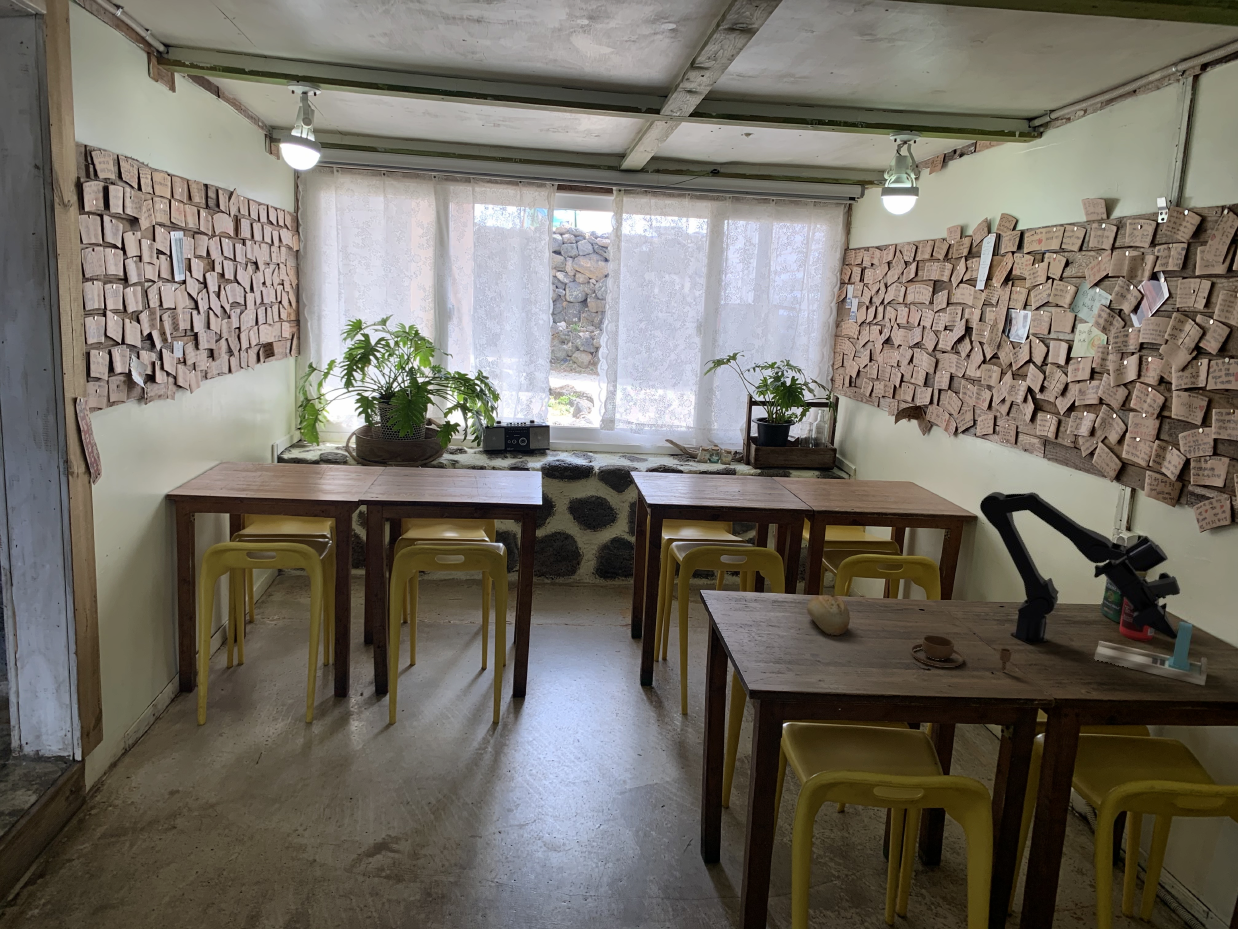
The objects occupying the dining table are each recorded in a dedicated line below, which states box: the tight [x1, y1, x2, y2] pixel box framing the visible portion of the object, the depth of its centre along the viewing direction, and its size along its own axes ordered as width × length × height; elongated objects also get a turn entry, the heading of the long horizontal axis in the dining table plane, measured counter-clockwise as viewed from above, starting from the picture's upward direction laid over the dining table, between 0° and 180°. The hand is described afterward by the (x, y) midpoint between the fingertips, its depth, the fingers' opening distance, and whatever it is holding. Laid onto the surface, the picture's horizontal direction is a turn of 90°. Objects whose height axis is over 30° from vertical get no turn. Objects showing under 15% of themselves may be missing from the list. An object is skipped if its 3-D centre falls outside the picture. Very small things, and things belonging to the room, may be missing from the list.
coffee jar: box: [1100, 556, 1149, 623], centre depth 231 cm, size 10×8×19 cm
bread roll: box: [806, 594, 851, 636], centre depth 218 cm, size 10×15×8 cm, turn 11°
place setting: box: [910, 634, 1012, 671], centre depth 198 cm, size 18×20×6 cm
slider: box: [1168, 621, 1193, 672], centre depth 197 cm, size 4×6×10 cm, turn 146°
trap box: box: [1093, 640, 1208, 686], centre depth 201 cm, size 22×9×4 cm, turn 56°
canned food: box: [1119, 598, 1160, 642], centre depth 220 cm, size 8×8×11 cm
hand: (1175, 637), depth 197 cm, fingers closed, pressing on slider
